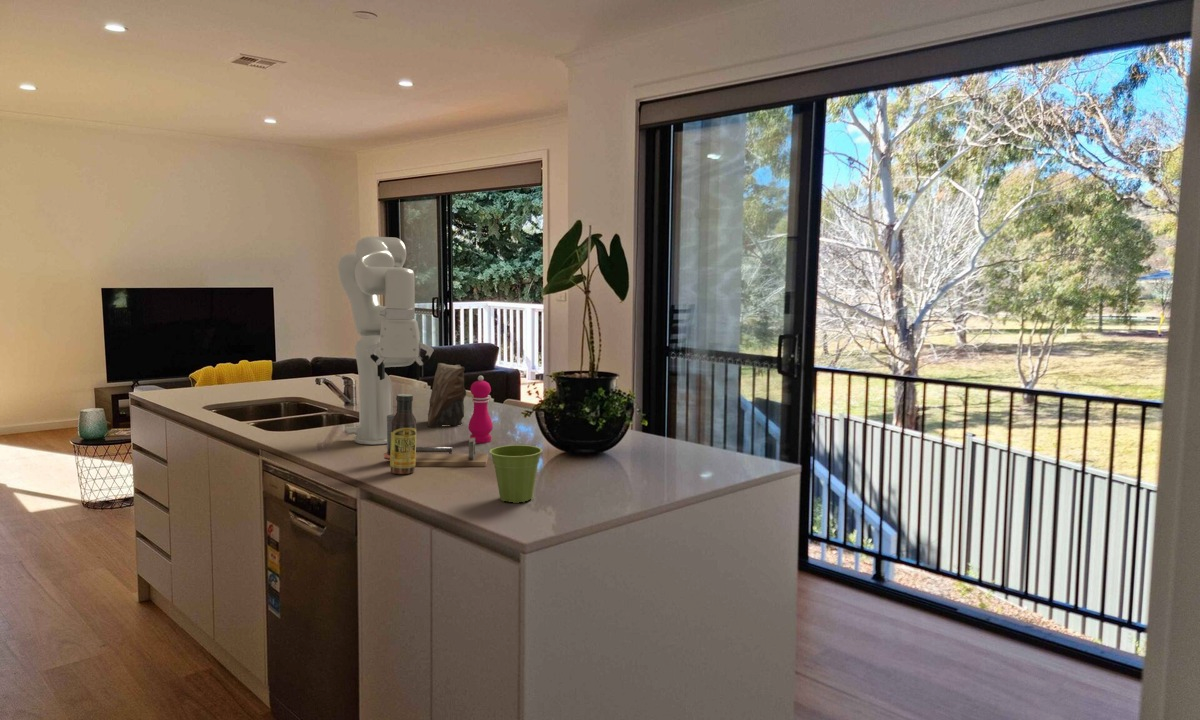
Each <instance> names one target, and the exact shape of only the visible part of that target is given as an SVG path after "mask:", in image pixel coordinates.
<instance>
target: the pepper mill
mask: <svg viewBox="0 0 1200 720" xmlns="http://www.w3.org/2000/svg"><path fill="white" fill-rule="evenodd" d="M484 379H485V378H484V376H483V375H479V376H478V377H477V380H476V381H473V383H472V384H471V386H470V393H471V395H472V397H471V398H472V402H473V412H472V416H471V417H470V419H469V422H468V431H469V432H470V433H471V434H470V436H469V440H470V439H471V438H475V444H488V443H490V442H491V441H492V435H491V434H490V433H491V432H492V431H493V421H492V419H491V416H490V414H489V409H488V402H490V397H489V395H490V393H491V392H492V388H491V385H490V383H489V382H487V381H486V380H484ZM487 442H488V443H487Z"/></svg>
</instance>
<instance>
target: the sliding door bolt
mask: <svg viewBox="0 0 1200 720" xmlns="http://www.w3.org/2000/svg"><path fill="white" fill-rule="evenodd" d="M395 415H396V413H395V414H393V413H392V415H388V416H387V444H386V447H387V448H386V449H387V450H386V452H385V453H383V459H385V460H388V461H390V451H391V431H392V420H393V418H394V416H395ZM416 453H448V454H453V447H452V446H416Z"/></svg>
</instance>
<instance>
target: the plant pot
mask: <svg viewBox="0 0 1200 720" xmlns="http://www.w3.org/2000/svg"><path fill="white" fill-rule="evenodd" d="M488 452H489V453H488V454H490V455H491V459H492V463H493V465H494V470H495V476H496V482H497V489H498V494H499V498H500V500H501V501H502V502H504V501H506V502H509V503H510V502H513V503H512V504H520V503H519V502H523V503H526V502H525V501H527V502H528V501H529V500H530V499H531V500H533V494H534V489H535V484H536V483H535V481H536V475H537V470H538V469H537V468H538V464H539V462H540V455H541V454H542V453H543V449H542V448H541V447H539V446H534V445H528V444H527V445H525V444H524V445H523V444H511V445H500V446H497V447H493V448H490V450H489V451H488Z"/></svg>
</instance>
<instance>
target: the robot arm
mask: <svg viewBox="0 0 1200 720" xmlns="http://www.w3.org/2000/svg"><path fill="white" fill-rule="evenodd" d="M354 249H355V252H351V253H349V252H348V253H346V254H343V255H342V256H341V257H340V259H339V261H338V264H337V267H338V268H337V269H338V270H337V271H338V278H339V281H340V285H341V286H342V288H343V291H344V292H345V294H346V296H347V298H348V301H349V303H350V307H351V312H352V317H353V322H354V326H355V330H356V332H357V334H358V335H359V336H361V338H359V339H358V340H357V341H356V343H355V345H354V352H355V353H354V354H355V360H356V365H357V366H356V367H357V372H358V409H359V410H358V411H359V413H358V414H359V415H358V416H359V418H358V419H359V420H358V421H359V423H358V424H359V425H358V426H355V427H352V426H346V427H344V428H345V429H344V433H345V434H346V435H355V436H354V439H353V440H354V443H357V444H359V445H360V444H361V445H371V446H372V445H374V446H375V445H385V444H386V445H387V416H388V415H393V382H392V379H391V377H390V376H389V375H388V374H387V373H386V372H385V371H386V370H385V368H391V367H392V368H393V367H394V368H396V367H407V366H411V365H412V364H414V363H415V362H416V364H417V365H416V366H415V367H416V369H415V370H416V372H415V373H416V381H420V380H422V378H423V377H424V365H425V363H426V362H427V361H428V360H430V358H431V356H432V354H433V352H435V351H434V348H433V347H431V346H429V345H428V344H426V343H423V342H421V338H420V337H421V336H420V328H419V323H418V320H416V319H415V317H416V315H415V312H416V311H415V310H416V307H415V306H416V305H415V301H416V299H415V297H416V296H415V293H416V292H415V287H416V286H415V280H416V279H415V273H414V270H412V269H411V268H407V267H403V266H404V265H405V262H406V259H407V247H406V245H405V242H403V240H402V239H400V238H398V237H392V236H391V237H389V236H366V237H362V238H361V239H360V240H358V242H357V243H356V244H355V248H354ZM379 296H384V299H385V300H384V301H385V302H384V303H385V304H384V306H383V305H381V303H380V298H379ZM421 349H422V350H424V351H426V353H425V356H423V357H421Z"/></svg>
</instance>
